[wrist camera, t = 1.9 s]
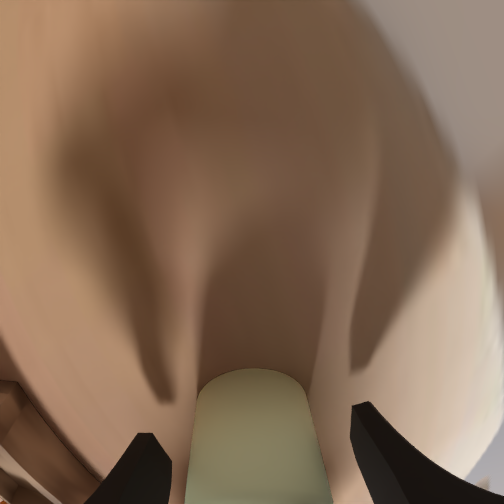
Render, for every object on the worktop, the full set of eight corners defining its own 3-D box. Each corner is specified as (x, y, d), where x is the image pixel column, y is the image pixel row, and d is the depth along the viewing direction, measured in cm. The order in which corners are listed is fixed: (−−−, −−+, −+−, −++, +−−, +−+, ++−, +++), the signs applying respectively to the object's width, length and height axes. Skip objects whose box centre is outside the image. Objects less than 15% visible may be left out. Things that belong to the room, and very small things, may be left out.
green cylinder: (309, 429, 12) (332, 523, 7) (213, 443, 12) (208, 537, 7) (302, 358, 10) (335, 476, 5) (182, 376, 10) (159, 492, 6)
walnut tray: (130, 510, 15) (123, 545, 12) (21, 481, 15) (11, 506, 12) (17, 382, 10) (-15, 426, 7) (-70, 368, 11) (-92, 392, 7)
